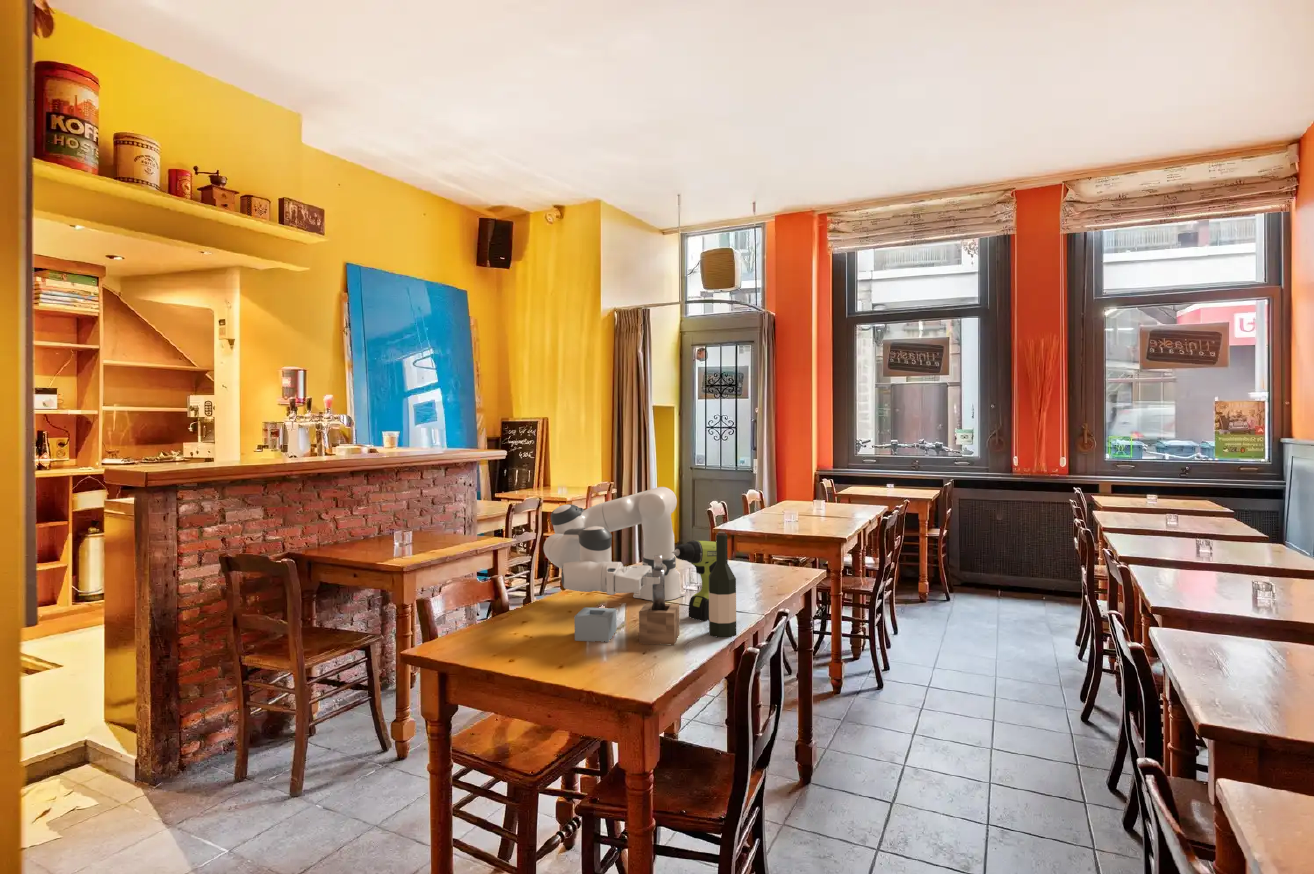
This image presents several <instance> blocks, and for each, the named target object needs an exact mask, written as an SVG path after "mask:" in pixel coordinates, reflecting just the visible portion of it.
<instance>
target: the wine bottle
mask: <svg viewBox="0 0 1314 874" xmlns="http://www.w3.org/2000/svg"><path fill="white" fill-rule="evenodd" d="M726 532H727V531H717V534H716V536H715V538H716V539H715V542H716V565H715V566H714V568H713V570H712V571H711V573H710V575H709V620H708V633H709V636H710V637H714V636H717V637H716V638H718V637H730V638H733V637H734V636H737V578H736V576H735V574H734V572H733V570H732V569H731V567H730V565H729V564H728V562H729V561H728V555H729V554H728V534H727V533H726ZM732 636H733V637H732Z"/></svg>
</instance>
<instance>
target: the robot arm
mask: <svg viewBox="0 0 1314 874" xmlns="http://www.w3.org/2000/svg"><path fill="white" fill-rule="evenodd" d="M677 504H678V500H677V496H676V494H675V492H674V491H673V490H672V489H670V488H669V487H666V486H657V487H654V488H651V489H648V490H644V491H640V492H637V493H634V494H630V495H626V496H623V497H619V498H615V499H612V500H608V501H604V502H602V503H601V502H600V503H598V504H595V505H593V506H590V507H588V508H586V509H584V508H583V507H578V506H577V505H575V504H572V503H568V504H563V505H560V506H557V507H556V508H555V509H554V510H553V511H552V512H551V513H550V522H551V525H552V527H553V531H554V533H553V534H551V535H549V536H548V537H547V538H546V539H545V541H544V543H543V553H544V555H545V557H546V558H547V559H548V561H550V563H552V564H553V565H554V566H555V567H557V568H559V569H561V574H560V575H561V585H562V587H563V588H564V589H566V590H569V591H573V592H574V591H575V592H583V593H587V592H589V593H591V592H600V593H606V595H609V596H611V595H612V596H614V595H615V594H628V593H633V595H632V596H633V598H634V599H643V600H646V601H653V597H652V584H659V583H660V582H661V578H660V577H652V570H653V569H654V556H655V555H661V556H662V569H664V570H665V601H671V600H675V599H676V600H677V599H679V598H680V597H684V596H686V592H685V591H684V590H682V587H681V585H682V584H681V573H680V571H678V569H677V568H676V566H677V558H676V556H675V555H674V553H672V552H673V551H674V550H675V533H674V530H673V521H672V514H673V513H674V512H675V510H676V508H677ZM638 525H641V528H642V534H643V557H642V561H641V562H642V565H640V564H639V565H628V566H624V564H623V563H622V562H621V561H612V540H613V539H612V538H613V535H612V532H615V531H619V530H622V529H623V530H624V529H628V528H630V527H631V528H632V527H635V526H638Z"/></svg>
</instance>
